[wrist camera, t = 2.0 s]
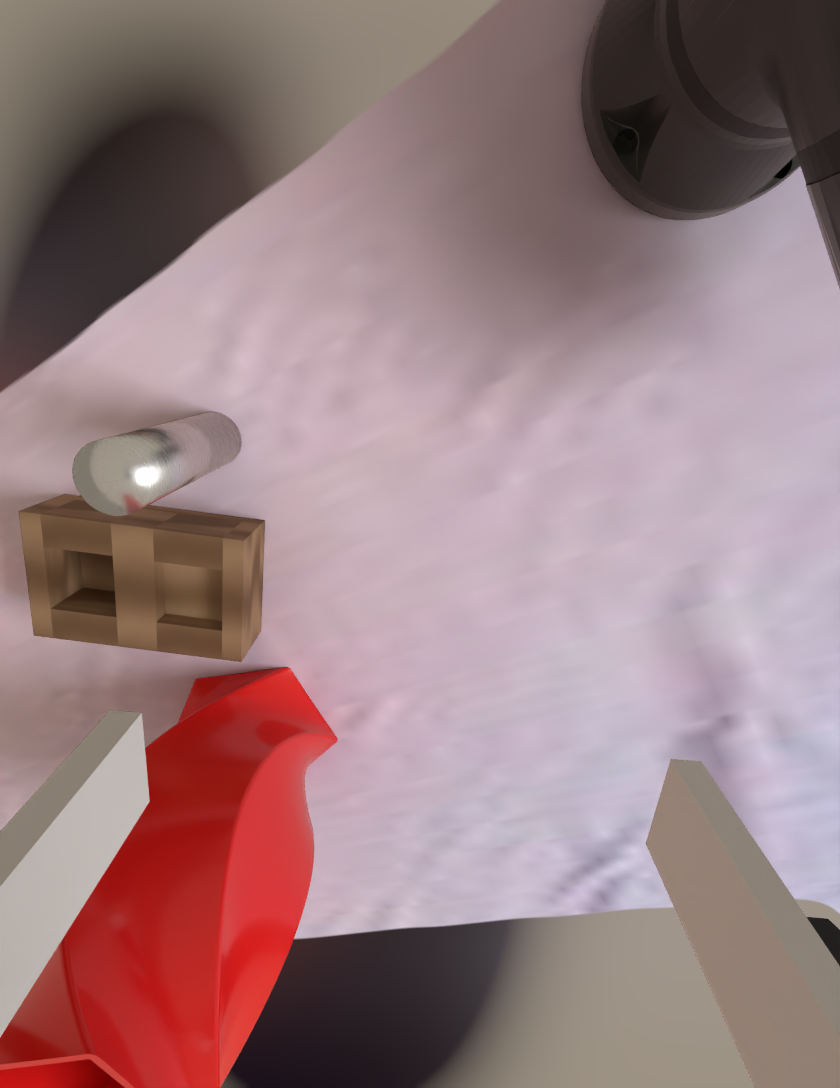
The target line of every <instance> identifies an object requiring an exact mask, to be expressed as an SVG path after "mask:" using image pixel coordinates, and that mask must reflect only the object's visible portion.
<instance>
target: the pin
mask: <svg viewBox="0 0 840 1088" xmlns="http://www.w3.org/2000/svg"><path fill="white" fill-rule="evenodd" d="M240 449H241V435H240V432H239V429H238V428H237V426H236V425H235V423H234V422H233V421H232V420H231V419H230V418H228V417H227V416H225V415H223V414H221V413H217V412H207V413H203V414H199V415H195V416H191V417H187V418H183V419H180V420H176V421H172V422H168V423H164V424H160V425H156V426H152V427H148V428H144V429H140V430H136V431H132V432H129V433H125V434H121V435H117V436H113V437H109V438H105V439H101V440H97V441H93V442H91V443H88V444H87V445H85V446H84V447H83V448H81V449H80V451H79V452H78V453H77V455H76V457H75V459H74V462H73V468H72V473H73V480H74V483H75V486H76V488H77V490H78V492H79V493H80V495H81V496H82V498H83V499H84V500H85V501H86V502H87V503H88V504H89V505H90V506H92V507H93V508H95V509H96V510H98V511H100V512H102V513H105V514H108V515H113V516H124V515H129V514H132V513H134V512H136V511H137V510H139V509H141V508H143V507H145V506H147V505H149V504H151V503H153V502H155V501H157V500H158V499H160V498H162V497H164V496H166V495H168V494H170V493H172V492H174V491H176V490H178V489H179V488H181V487H183V486H185V485H187V484H189V483H191V482H193V481H195V480H197V479H199V478H200V477H202V476H204V475H206V474H208V473H210V472H212V471H214V470H216V469H218V468H220V467H221V466H223V465H225V464H227V463H229V462H231V461H232V460H234V459H235V458H236V457H237V455H238V454H239V452H240Z"/></svg>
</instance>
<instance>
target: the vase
mask: <svg viewBox="0 0 840 1088" xmlns="http://www.w3.org/2000/svg"><path fill="white" fill-rule="evenodd" d="M336 742H337V737H336V736H335V734H334V733H333V731H332V730H331V728H330V727H329V726H328V724H327V723H326V721H325V720H324V718H323V717H322V715H321V714H320V713H319V711H318V710H317V708H316V707H315V705H314V704H313V702H312V701H311V699H310V698H309V696H308V695H307V693H306V692H305V690H304V689H303V687H302V686H301V684H300V683H299V681H298V680H297V678H296V677H295V675H294V674H293V672H292V671H291V669H290V668H288V667H283V668H276V669H269V670H262V671H255V672H248V673H240V674H232V675H224V676H216V677H208V678H199V679H196V680H195V682H194V684H193V687H192V689H191V692H190V694H189V697H188V699H187V702H186V704H185V707H184V709H183V712H182V714H181V716H180V719H179V721H178V724H176V725H175V726H173V727H172V728H170V729H169V730H168V731H166V732H165V733H164V734H162V735H161V736H160V737H158V738H157V739H156V740H155V741H153V742H152V743H151V744H150V745H148V746H147V747H146V748H145V754H146V766H147V777H148V788H149V800H150V802H149V803H148V805H147V806H146V808H145V809H144V811H143V813H142V814H141V816H140V817H139V819H138V821H137V822H136V824H135V825H134V827H133V828H132V830H131V832H130V833H129V835H128V836H127V838H126V839H125V841H124V843H123V844H122V846H121V847H120V849H119V851H118V852H117V854H116V855H115V857H114V858H113V860H112V862H111V863H110V865H109V866H108V868H107V870H106V871H105V873H104V874H103V876H102V877H101V879H100V881H99V882H98V884H97V885H96V887H95V888H94V890H93V892H92V893H91V895H90V896H89V898H88V900H87V901H86V903H85V904H84V906H83V907H82V909H81V911H80V912H79V914H78V915H77V917H76V919H75V920H74V922H73V923H72V925H71V926H70V928H69V930H68V931H67V933H66V934H65V936H64V937H63V939H62V941H61V942H60V944H59V945H58V947H57V949H56V950H55V952H54V953H53V955H52V956H51V958H50V960H49V961H48V963H47V964H46V966H45V967H44V969H43V971H42V972H41V974H40V975H39V977H38V979H37V980H36V982H35V983H34V985H33V986H32V988H31V990H30V991H29V993H28V994H27V996H26V998H25V999H24V1001H23V1002H22V1004H21V1005H20V1007H19V1009H18V1010H17V1012H16V1013H15V1015H14V1016H13V1018H12V1020H11V1021H10V1023H9V1024H8V1026H7V1028H6V1029H5V1031H4V1032H3V1034H2V1035H1V1037H0V1088H220V1087H221V1085H222V1084H223V1082H224V1080H225V1078H226V1077H227V1075H228V1073H229V1071H230V1069H231V1068H232V1066H233V1064H234V1062H235V1061H236V1059H237V1057H238V1055H239V1053H240V1051H241V1049H242V1048H243V1046H244V1044H245V1042H246V1040H247V1038H248V1036H249V1034H250V1033H251V1030H252V1029H253V1027H254V1025H255V1023H256V1021H257V1019H258V1017H259V1015H260V1013H261V1011H262V1009H263V1007H264V1005H265V1003H266V1001H267V999H268V997H269V995H270V993H271V991H272V988H273V986H274V984H275V982H276V980H277V978H278V975H279V973H280V971H281V968H282V966H283V964H284V962H285V959H286V957H287V954H288V952H289V949H290V947H291V944H292V942H293V939H294V936H295V934H296V931H297V928H298V925H299V922H300V919H301V916H302V913H303V909H304V906H305V902H306V899H307V895H308V891H309V886H310V882H311V876H312V870H313V861H314V835H313V828H312V823H311V820H310V816H309V812H308V807H307V802H306V795H305V773H306V769H307V767H308V766H309V765H310V764H311V763H312V762H314V761H315V760H316V759H317V758H318V757H319V756H321V755H322V754H323V753H324V752H325V751H326V750H328V749H329V748H330V747H331V746H332V745H334V744H335V743H336Z"/></svg>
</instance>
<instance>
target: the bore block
mask: <svg viewBox="0 0 840 1088" xmlns="http://www.w3.org/2000/svg"><path fill="white" fill-rule="evenodd" d="M19 518H20V526H21V534H22V542H23V550H24V559H25V567H26V575H27V583H28V591H29V599H30V608H31V616H32V624H33V632H34V636H42V637H50V638H58V639H66V640H73V641H81V642H89V643H97V644H105V645H113V646H120V647H128V648H136V649H144V650H152V651H160V652H168V653H175V654H183V655H191V656H199V657H207V658H215V659H222V660H230V661H238V662H241V661H242V660H243V658H244V657H245V655H246V654H247V652H248V650H249V649H250V647H251V646H252V644H253V643H254V641H255V639H256V638H257V636H258V635H259V633H260V632H261V616H262V588H263V560H264V532H265V521H264V520H257V519H249V518H242V517H234V516H227V515H219V514H211V513H204V512H196V511H189V510H181V509H173V508H166V507H158V506H151V505H147V506H145V507H143V508H141V509H139V510H137V511H136V512H134V513H132V514H129V515H124V516H113V515H108V514H105V513H102V512H100V511H98V510H96V509H95V508H93V507H92V506H90V505H89V504H88V503H87V502H86V501H85V500H84V499H83V498H82V496H75V495H67V494H64V495H61V496H58V497H56V498H53V499H50V500H48V501H45V502H42V503H40V504H37V505H34V506H32V507H29V508H26V509H23V510H21V511H19Z"/></svg>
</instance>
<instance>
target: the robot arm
mask: <svg viewBox="0 0 840 1088" xmlns="http://www.w3.org/2000/svg"><path fill="white" fill-rule="evenodd" d="M582 111H583V119H584V126H585V130H586V135H587V138H588V142H589V145H590V148H591V150H592V153H593V155H594V158H595V160H596V162H597V164H598V166H599V167H600V169H601V171H602V172H603V174H604V175H605V177H606V178H607V180H608V181H609V182H610V183H611V185H612V186H613V187H614V188H615V189H616V190H617V191H618V192H619V193H620V194H621V195H622V196H623V197H624V198H625V199H627V200H628V201H629V202H631V203H632V204H634V205H635V206H637V207H639V208H640V209H642V210H644V211H647V212H649V213H651V214H654V215H657V216H661V217H664V218H670V219H678V220H695V219H703V218H709V217H713V216H717V215H720V214H723V213H726V212H729V211H731V210H734V209H736V208H738V207H740V206H742V205H744V204H746V203H748V202H750V201H752V200H754V199H756V198H758V197H760V196H762V195H763V194H765V193H767V192H768V191H770V190H771V189H773V188H774V187H776V186H777V185H778V184H780V183H781V182H782V181H784V180H785V179H786V178H787V177H789V176H790V175H791V174H792V173H793V172H794V171H795V170H797V169H798V168H799V167H800V166H801V169H802V172H803V175H804V178H805V181H806V187H807V190H808V193H809V196H810V199H811V202H812V205H813V208H814V211H815V215H816V218H817V221H818V224H819V227H820V230H821V233H822V236H823V239H824V242H825V245H826V248H827V251H828V254H829V258H830V261H831V264H832V267H833V270H834V273H835V276H836V279H837V282H838V285H839V288H840V0H606V1H605V3H604V6H603V8H602V10H601V12H600V14H599V16H598V19H597V21H596V23H595V26H594V29H593V32H592V34H591V37H590V41H589V45H588V48H587V52H586V57H585V62H584V69H583V77H582ZM149 802H150V800H149V788H148V777H147V766H146V754H145V743H144V732H143V721H142V713H139V712H127V711H116V710H110V711H109V712H108V713H107V714H106V715H105V717H104V718H103V719H102V720H101V721H100V722H99V723H98V724H97V725H96V726H95V728H94V729H93V730H92V731H91V732H90V733H89V734H88V735H87V736H86V737H85V739H84V740H83V741H82V742H81V743H80V744H79V745H78V746H77V747H76V748H75V750H74V751H73V752H72V753H71V754H70V755H69V756H68V757H67V758H66V759H65V761H64V762H63V763H62V764H61V765H60V766H59V767H58V768H57V769H56V770H55V772H54V773H53V774H52V775H51V776H50V777H49V778H48V779H47V780H46V781H45V783H44V784H43V785H42V786H41V787H40V788H39V789H38V790H37V791H36V792H35V794H34V795H33V796H32V797H31V798H30V799H29V800H28V801H27V802H26V803H25V805H24V806H23V807H22V808H21V809H20V810H19V811H18V812H17V813H16V814H15V816H14V817H13V818H12V819H11V820H10V821H9V822H8V823H7V824H6V825H5V827H4V828H3V829H2V830H1V831H0V1037H1V1035H2V1034H3V1032H4V1031H5V1029H6V1028H7V1026H8V1024H9V1023H10V1021H11V1020H12V1018H13V1016H14V1015H15V1013H16V1012H17V1010H18V1009H19V1007H20V1005H21V1004H22V1002H23V1001H24V999H25V998H26V996H27V994H28V993H29V991H30V990H31V988H32V986H33V985H34V983H35V982H36V980H37V979H38V977H39V975H40V974H41V972H42V971H43V969H44V967H45V966H46V964H47V963H48V961H49V960H50V958H51V956H52V955H53V953H54V952H55V950H56V949H57V947H58V945H59V944H60V942H61V941H62V939H63V937H64V936H65V934H66V933H67V931H68V930H69V928H70V926H71V925H72V923H73V922H74V920H75V919H76V917H77V915H78V914H79V912H80V911H81V909H82V907H83V906H84V904H85V903H86V901H87V900H88V898H89V896H90V895H91V893H92V892H93V890H94V888H95V887H96V885H97V884H98V882H99V881H100V879H101V877H102V876H103V874H104V873H105V871H106V870H107V868H108V866H109V865H110V863H111V862H112V860H113V858H114V857H115V855H116V854H117V852H118V851H119V849H120V847H121V846H122V844H123V843H124V841H125V839H126V838H127V836H128V835H129V833H130V832H131V830H132V828H133V827H134V825H135V824H136V822H137V821H138V819H139V817H140V816H141V814H142V813H143V811H144V809H145V808H146V806H147V805H148V803H149ZM646 845H647V847H648V850H649V852H650V854H651V856H652V858H653V861H654V863H655V865H656V867H657V870H658V872H659V874H660V876H661V879H662V881H663V883H664V885H665V888H666V890H667V892H668V894H669V897H670V899H671V901H672V903H673V905H674V908H675V910H676V912H677V914H678V917H679V919H680V921H681V923H682V926H683V928H684V930H685V932H686V935H687V937H688V939H689V941H690V943H691V946H692V948H693V950H694V952H695V955H696V957H697V959H698V961H699V963H700V966H701V968H702V970H703V973H704V975H705V977H706V979H707V981H708V984H709V986H710V988H711V990H712V992H713V995H714V997H715V999H716V1001H717V1004H718V1006H719V1008H720V1010H721V1013H722V1015H723V1017H724V1020H725V1022H726V1024H727V1026H728V1028H729V1031H730V1033H731V1035H732V1037H733V1039H734V1042H735V1044H736V1046H737V1049H738V1051H739V1053H740V1055H741V1058H742V1060H743V1062H744V1064H745V1066H746V1069H747V1071H748V1073H749V1075H750V1078H751V1080H752V1082H753V1084H754V1087H755V1088H840V930H839V929H838V928H837V927H836V926H835V925H834V924H833V923H832V922H831V921H830V920H829V919H824V918H823V919H822V918H812V917H806V916H805V914H804V913H803V911H802V910H801V908H800V907H799V905H798V904H797V902H796V901H795V899H794V898H793V896H792V895H791V893H790V892H789V891H788V889H787V888H786V886H785V885H784V883H783V882H782V880H781V879H780V877H779V876H778V874H777V873H776V871H775V870H774V868H773V867H772V865H771V864H770V862H769V861H768V859H767V858H766V857H765V855H764V854H763V852H762V851H761V849H760V848H759V846H758V845H757V843H756V842H755V840H754V839H753V837H752V836H751V834H750V833H749V831H748V830H747V828H746V827H745V825H744V824H743V822H742V821H741V820H740V818H739V817H738V815H737V814H736V812H735V811H734V809H733V808H732V806H731V805H730V803H729V802H728V800H727V799H726V797H725V796H724V794H723V793H722V791H721V790H720V788H719V787H718V786H717V784H716V783H715V781H714V780H713V778H712V777H711V775H710V774H709V772H708V771H707V769H706V768H705V766H704V765H703V763H702V762H700V761H688V760H677V759H671V760H670V764H669V767H668V770H667V774H666V777H665V781H664V784H663V787H662V791H661V794H660V797H659V801H658V804H657V807H656V811H655V814H654V818H653V821H652V824H651V828H650V831H649V834H648V838H647V841H646Z"/></svg>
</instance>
